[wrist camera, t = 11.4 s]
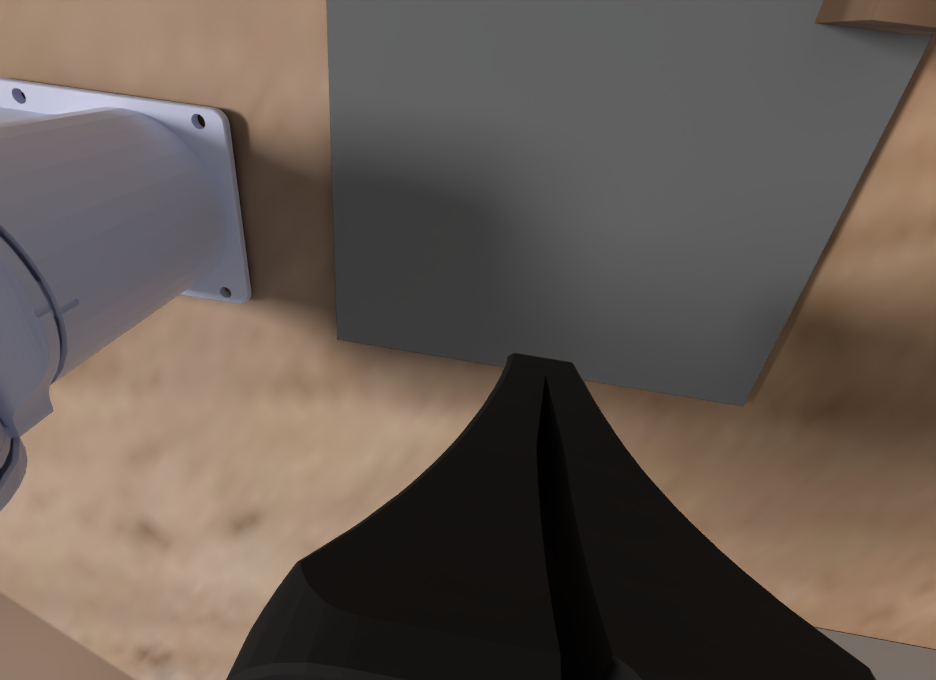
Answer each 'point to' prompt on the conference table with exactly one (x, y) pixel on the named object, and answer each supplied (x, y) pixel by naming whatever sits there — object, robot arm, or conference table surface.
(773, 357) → the conference table surface
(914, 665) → the gray hollow frame
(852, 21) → the brown cube
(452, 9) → the mat
